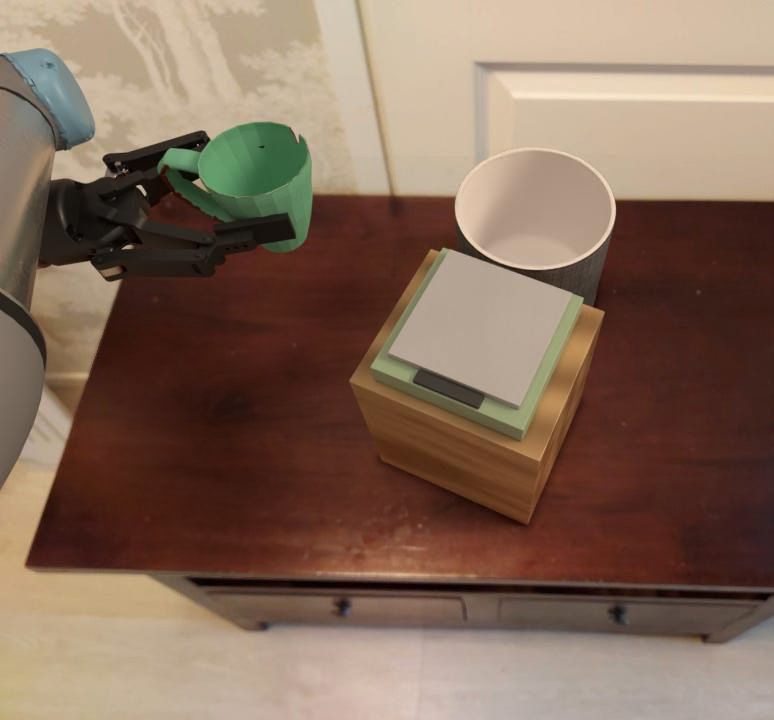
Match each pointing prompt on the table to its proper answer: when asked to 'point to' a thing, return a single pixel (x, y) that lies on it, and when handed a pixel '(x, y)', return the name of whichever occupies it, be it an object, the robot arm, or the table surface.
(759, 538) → the table surface
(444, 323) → the scale
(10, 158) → the robot arm
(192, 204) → the mug
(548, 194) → the planter
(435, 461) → the riser
